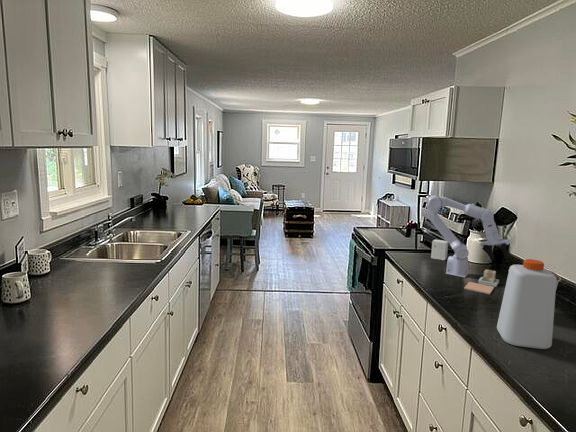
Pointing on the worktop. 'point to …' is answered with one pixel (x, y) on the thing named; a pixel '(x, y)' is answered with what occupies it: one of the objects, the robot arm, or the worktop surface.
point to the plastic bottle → (528, 306)
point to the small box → (439, 249)
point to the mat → (479, 288)
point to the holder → (488, 282)
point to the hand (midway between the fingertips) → (499, 258)
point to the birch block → (489, 276)
